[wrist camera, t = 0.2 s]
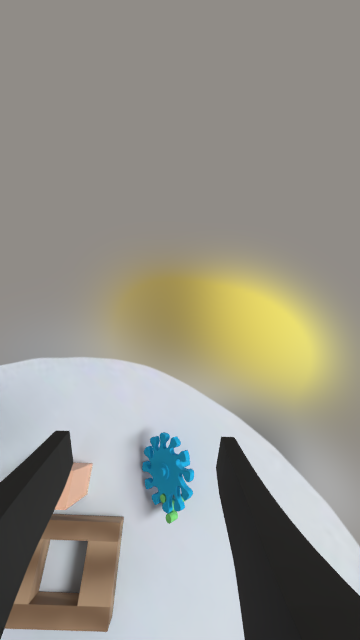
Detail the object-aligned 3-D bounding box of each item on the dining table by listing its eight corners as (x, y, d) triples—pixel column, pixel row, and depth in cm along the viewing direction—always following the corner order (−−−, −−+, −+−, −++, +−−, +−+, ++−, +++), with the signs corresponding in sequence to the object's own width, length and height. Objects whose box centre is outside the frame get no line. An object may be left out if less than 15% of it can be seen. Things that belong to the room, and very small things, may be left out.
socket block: (112, 616, 29) (107, 631, 27) (1, 612, 29) (-13, 627, 27) (123, 516, 34) (120, 522, 31) (28, 513, 33) (18, 518, 31)
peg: (87, 494, 35) (65, 509, 28) (60, 493, 35) (32, 508, 28) (92, 463, 37) (73, 470, 29) (67, 462, 36) (42, 469, 29)
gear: (138, 432, 37) (184, 435, 31) (164, 427, 42) (209, 429, 35) (139, 514, 34) (191, 536, 28) (167, 499, 38) (217, 515, 32)
